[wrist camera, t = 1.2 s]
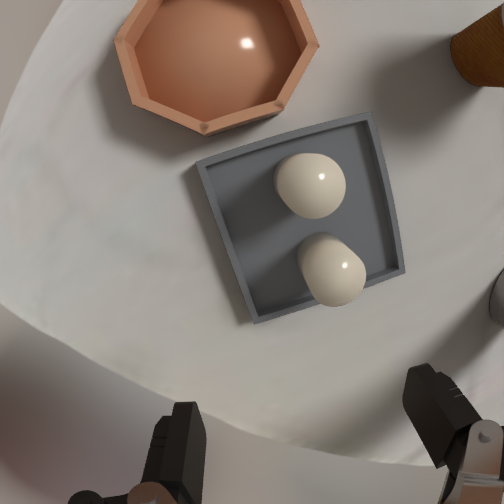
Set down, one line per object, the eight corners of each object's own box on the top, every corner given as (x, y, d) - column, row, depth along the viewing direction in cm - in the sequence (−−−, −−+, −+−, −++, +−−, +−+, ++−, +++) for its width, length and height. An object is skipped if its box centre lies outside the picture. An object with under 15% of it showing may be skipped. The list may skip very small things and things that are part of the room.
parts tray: (364, 113, 25) (371, 111, 23) (398, 267, 29) (405, 272, 28) (197, 161, 26) (195, 162, 24) (253, 315, 30) (254, 324, 29)
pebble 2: (338, 225, 27) (360, 242, 22) (348, 270, 29) (370, 295, 23) (290, 240, 28) (302, 261, 22) (303, 285, 29) (316, 314, 24)
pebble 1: (316, 146, 25) (335, 146, 20) (330, 196, 26) (352, 208, 21) (265, 161, 25) (272, 164, 20) (281, 211, 27) (292, 227, 22)
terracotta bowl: (271, -33, 20) (274, -52, 17) (326, 102, 25) (338, 96, 21) (117, 16, 21) (103, 2, 18) (160, 155, 25) (148, 156, 22)
